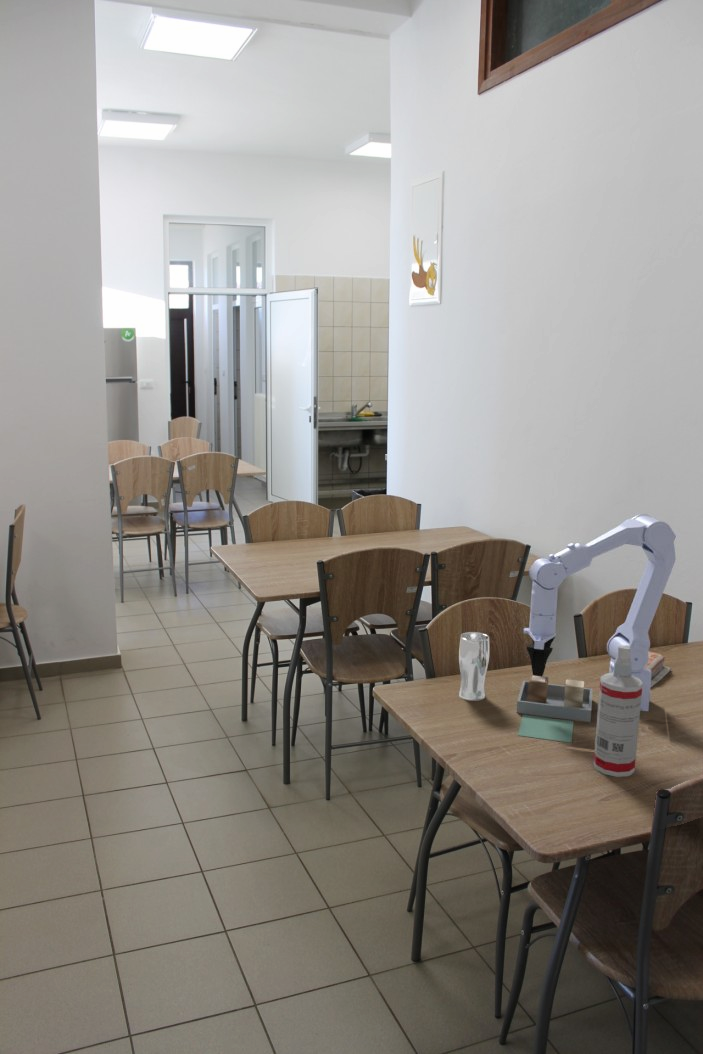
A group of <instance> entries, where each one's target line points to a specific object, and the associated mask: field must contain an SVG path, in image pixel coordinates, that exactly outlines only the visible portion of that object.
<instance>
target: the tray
mask: <svg viewBox="0 0 703 1054" xmlns="http://www.w3.org/2000/svg"><path fill="white" fill-rule="evenodd" d="M528 690H529V680H528V681H527V680H522V683H521V686H520V690H519V694H518V698H517V700H516V713H517V714H522V715H529V716H537V717H545V718H552V719H560V720H567V721H576V722H583V723H584V722H586V723H591V719H592V705H593V704H592V703H593V690H594V689H593V688H587V687H584V691H583V704H582V708H575V707H567V706H564V696H565V685H562V684H555V683H548V689H547V702H546V704H544V703H536V702H528Z"/></svg>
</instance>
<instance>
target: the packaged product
mask: <svg viewBox="0 0 703 1054" xmlns="http://www.w3.org/2000/svg"><path fill="white" fill-rule="evenodd" d="M648 654H649V660H648V663H647V665H646V666H645V668H644V669H649V670H651V687H652V688H653V686H655V685H656V684H657V683H658V682H660V681H661V680H662V679H663V678H664V677H666V675H667V674H669V672H670V671H671V670H672V668H671V667H668V666H665V665H664V662H665V655H663V654H662V653H658V652H653V651H650V650H649V651H648Z"/></svg>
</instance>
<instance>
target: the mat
mask: <svg viewBox="0 0 703 1054" xmlns="http://www.w3.org/2000/svg"><path fill="white" fill-rule="evenodd" d="M574 721H575V720H568V719H560V718H553V717H545V716H538V715H530V714H522V717H521V721H520V725H519V728H518V729H519V730H518V732H517V737H525V738H530V739H531V738H532V739H540V740H546V741H552V742H553V741H555V742H561V743H568V744H572V741H573V739H572V738H573V731H574Z"/></svg>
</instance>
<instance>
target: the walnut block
mask: <svg viewBox="0 0 703 1054" xmlns="http://www.w3.org/2000/svg"><path fill="white" fill-rule="evenodd" d="M528 681H529V690H528V702H536V703H544V704H546V702H547V689H548V684H549V676H544V675H543V676H535V675H533V674H532V675H531V674H530V677H529V679H528Z"/></svg>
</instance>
